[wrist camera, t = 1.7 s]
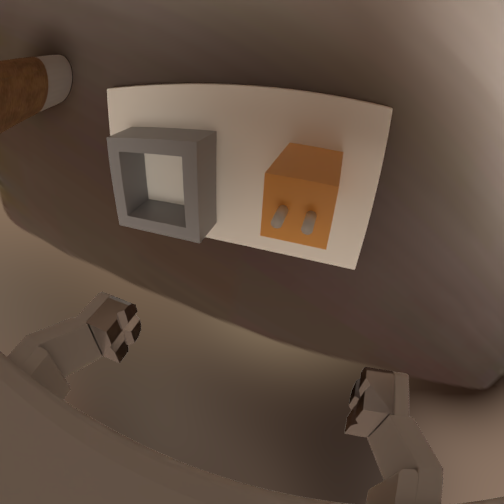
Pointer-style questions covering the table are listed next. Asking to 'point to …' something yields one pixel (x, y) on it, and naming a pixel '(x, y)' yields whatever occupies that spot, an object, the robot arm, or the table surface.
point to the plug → (301, 195)
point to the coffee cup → (31, 86)
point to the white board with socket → (237, 160)
